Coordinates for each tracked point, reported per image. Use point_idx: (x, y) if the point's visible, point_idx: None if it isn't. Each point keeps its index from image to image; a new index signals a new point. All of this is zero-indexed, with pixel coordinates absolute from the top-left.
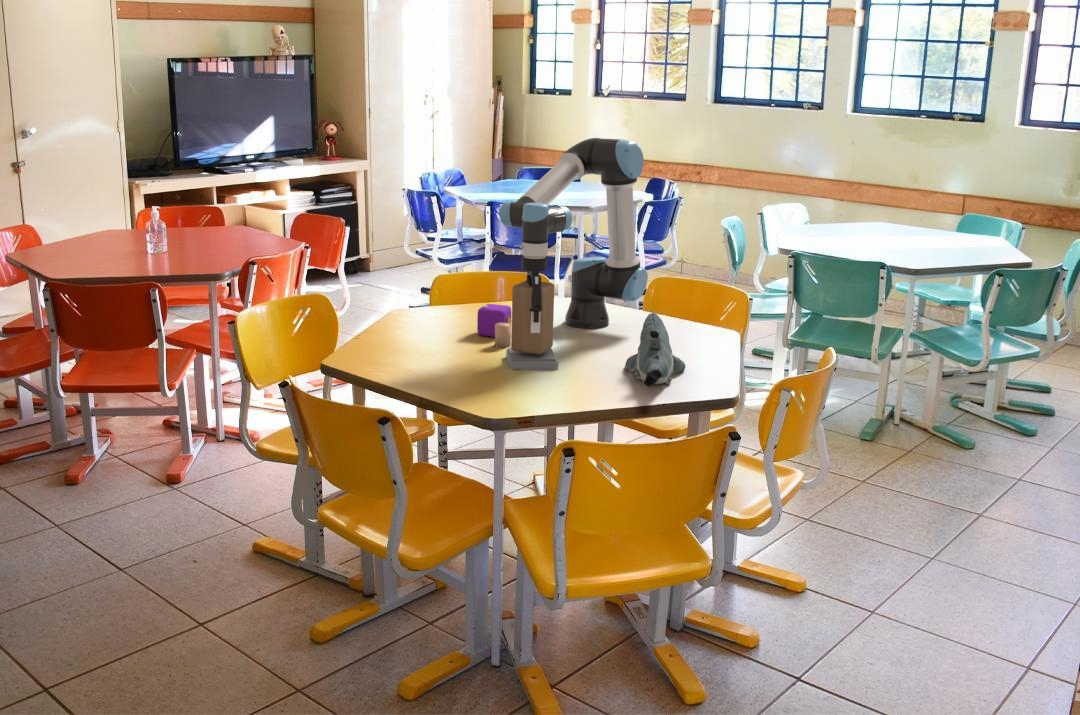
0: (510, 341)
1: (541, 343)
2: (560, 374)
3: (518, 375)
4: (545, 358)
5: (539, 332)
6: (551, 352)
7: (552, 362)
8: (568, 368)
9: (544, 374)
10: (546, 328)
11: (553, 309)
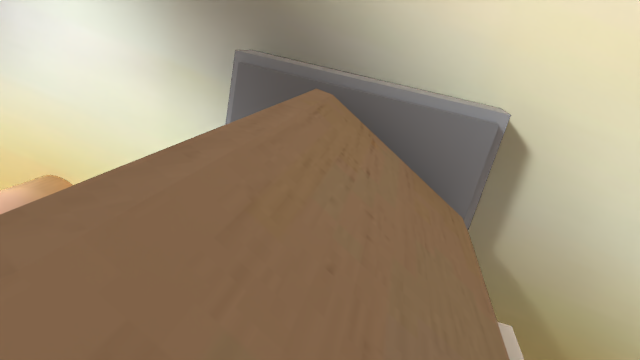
0: (44, 185)
1: (474, 252)
2: (604, 131)
3: (526, 328)
4: (461, 182)
5: (509, 333)
6: (345, 97)
7: (497, 147)
8: (505, 39)
9: (564, 212)
10: (422, 237)
11: (232, 158)
